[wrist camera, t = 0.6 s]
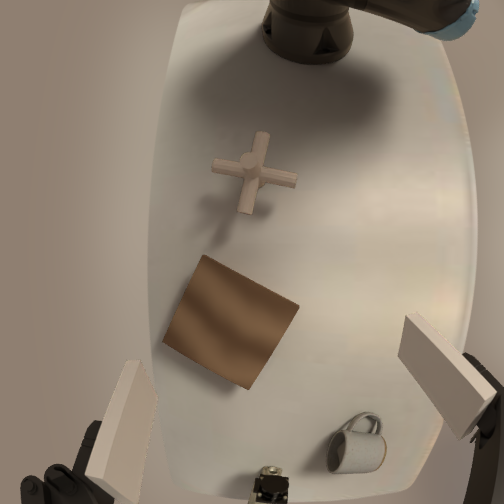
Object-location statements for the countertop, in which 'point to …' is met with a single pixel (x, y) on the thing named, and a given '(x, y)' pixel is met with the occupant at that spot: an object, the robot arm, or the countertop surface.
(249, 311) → the walnut stand
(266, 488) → the pneumatic valve
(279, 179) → the pipe connector
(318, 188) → the countertop surface
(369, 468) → the ceramic mug
